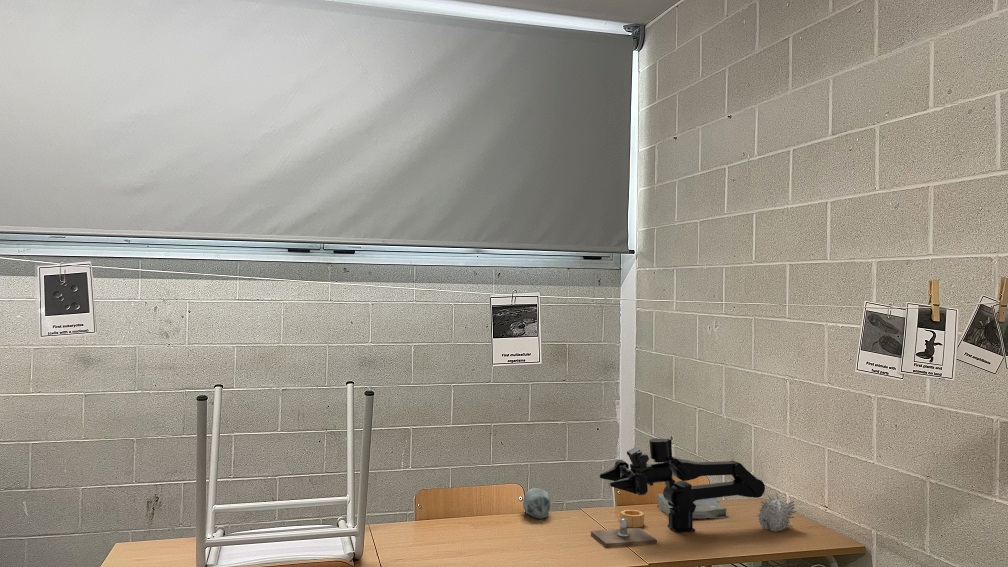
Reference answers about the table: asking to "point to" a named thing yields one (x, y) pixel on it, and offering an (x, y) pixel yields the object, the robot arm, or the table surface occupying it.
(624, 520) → the hook post
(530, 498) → the grey rounded lump
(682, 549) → the table surface
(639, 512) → the tan wooden ring
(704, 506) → the fossil
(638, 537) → the shelf board
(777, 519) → the sea urchin
